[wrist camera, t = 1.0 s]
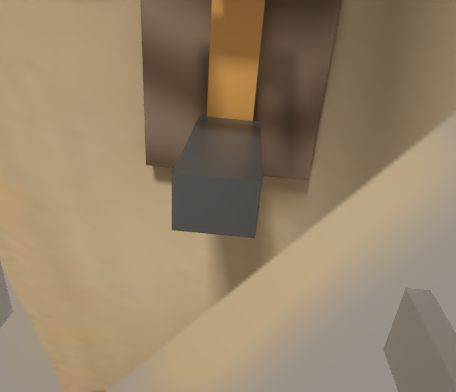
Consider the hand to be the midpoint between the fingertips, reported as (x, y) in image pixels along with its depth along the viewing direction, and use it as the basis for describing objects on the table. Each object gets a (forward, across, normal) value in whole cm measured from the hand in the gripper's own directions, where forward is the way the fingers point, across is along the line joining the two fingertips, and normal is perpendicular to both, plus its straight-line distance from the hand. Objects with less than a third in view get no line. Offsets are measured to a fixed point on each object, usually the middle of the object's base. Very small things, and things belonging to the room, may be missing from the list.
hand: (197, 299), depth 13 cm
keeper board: (+18, 0, +10) cm, 21 cm away
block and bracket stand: (+16, 0, +4) cm, 16 cm away
